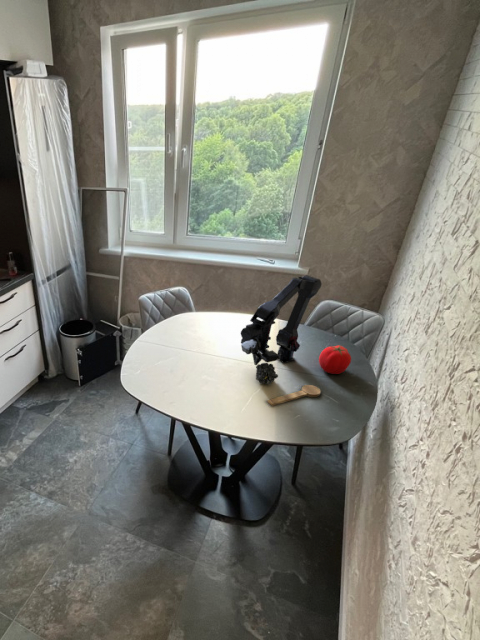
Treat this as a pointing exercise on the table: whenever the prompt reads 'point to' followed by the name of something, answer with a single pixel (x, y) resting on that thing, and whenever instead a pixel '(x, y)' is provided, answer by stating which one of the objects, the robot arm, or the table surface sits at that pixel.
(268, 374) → the fruit
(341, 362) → the tomato
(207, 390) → the table surface
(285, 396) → the spoon
